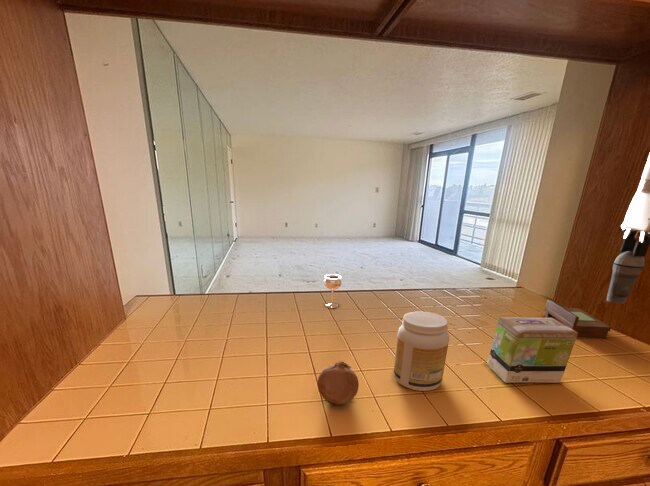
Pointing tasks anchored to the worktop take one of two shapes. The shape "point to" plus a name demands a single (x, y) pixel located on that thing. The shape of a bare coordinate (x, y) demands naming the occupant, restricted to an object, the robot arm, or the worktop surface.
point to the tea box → (531, 349)
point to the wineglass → (332, 286)
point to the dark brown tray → (577, 320)
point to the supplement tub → (421, 351)
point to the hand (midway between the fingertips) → (632, 253)
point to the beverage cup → (624, 276)
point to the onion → (338, 384)
